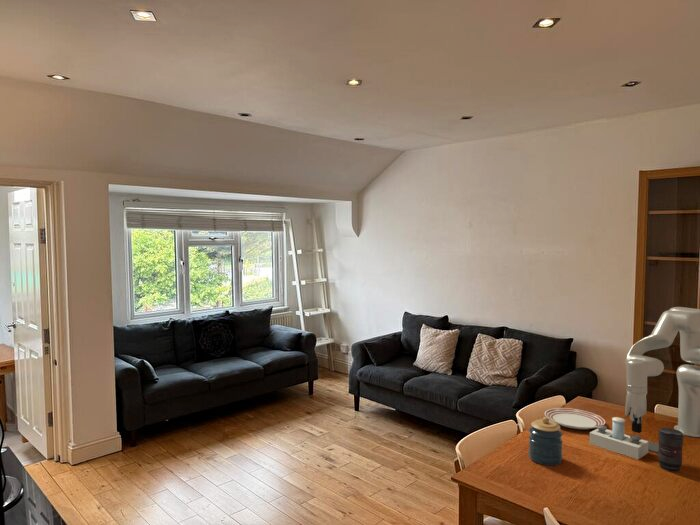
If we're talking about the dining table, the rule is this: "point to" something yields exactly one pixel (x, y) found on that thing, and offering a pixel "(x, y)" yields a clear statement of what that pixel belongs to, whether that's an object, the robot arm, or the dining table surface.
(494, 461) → the dining table surface
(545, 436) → the canister
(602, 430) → the plunger
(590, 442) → the housing
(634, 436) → the plunger
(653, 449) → the mat
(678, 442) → the camera lens
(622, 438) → the cartridge
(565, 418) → the dinner plate
